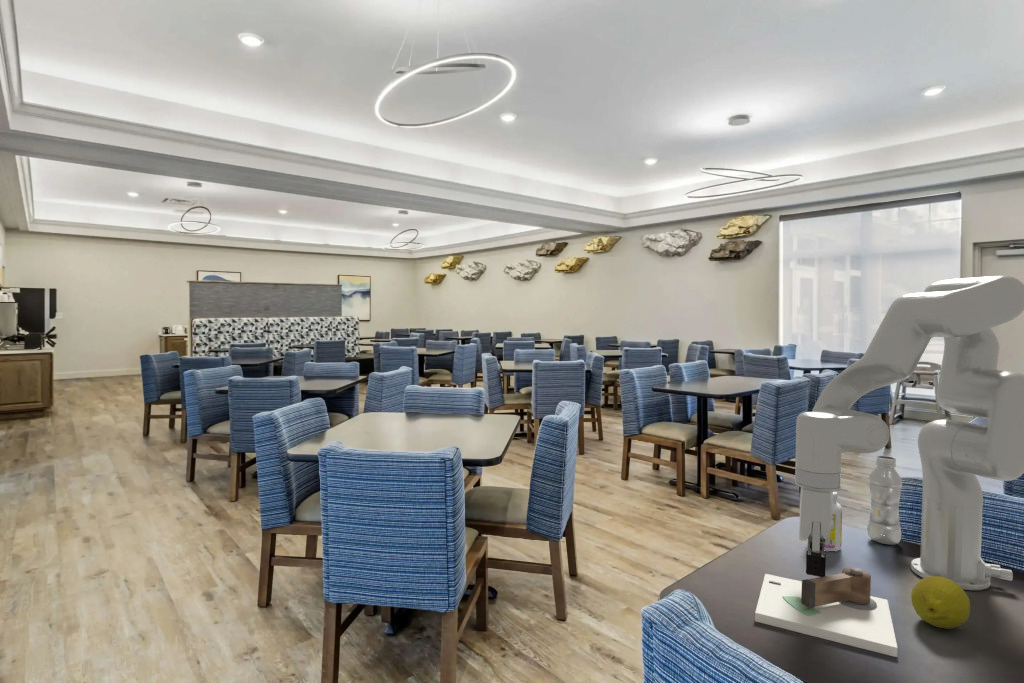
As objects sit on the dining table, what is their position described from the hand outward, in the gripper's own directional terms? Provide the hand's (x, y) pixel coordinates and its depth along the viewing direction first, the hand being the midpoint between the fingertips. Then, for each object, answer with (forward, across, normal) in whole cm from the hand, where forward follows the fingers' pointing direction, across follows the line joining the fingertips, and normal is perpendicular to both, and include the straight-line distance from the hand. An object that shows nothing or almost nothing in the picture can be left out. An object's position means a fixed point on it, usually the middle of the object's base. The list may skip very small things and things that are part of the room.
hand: (815, 574), depth 104 cm
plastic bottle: (+4, -36, +14) cm, 38 cm away
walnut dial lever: (+1, +7, +3) cm, 8 cm away
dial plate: (+4, +8, +1) cm, 9 cm away
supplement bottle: (+4, -26, +1) cm, 26 cm away
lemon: (+4, +3, +18) cm, 19 cm away
